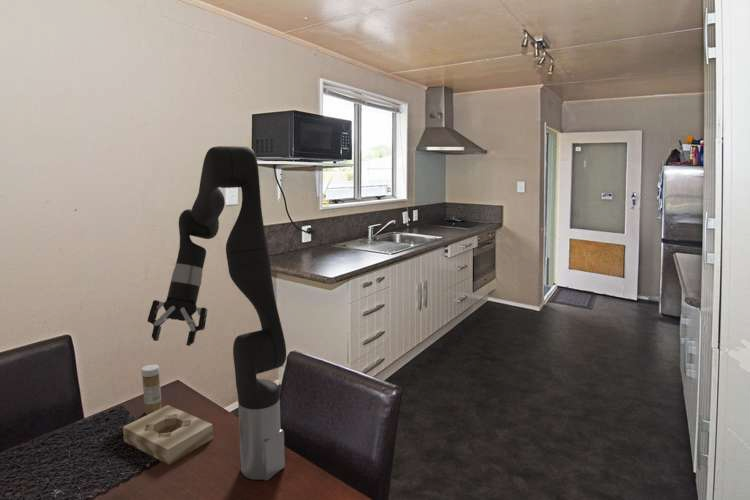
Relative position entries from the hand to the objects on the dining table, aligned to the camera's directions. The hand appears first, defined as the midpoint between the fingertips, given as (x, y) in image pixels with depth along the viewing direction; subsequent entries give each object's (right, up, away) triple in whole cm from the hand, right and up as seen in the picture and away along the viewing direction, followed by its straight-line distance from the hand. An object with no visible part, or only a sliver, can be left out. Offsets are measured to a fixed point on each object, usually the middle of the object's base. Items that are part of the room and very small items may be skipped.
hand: (172, 343), depth 126 cm
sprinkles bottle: (-10, -22, +10) cm, 26 cm away
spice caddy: (+1, -24, -4) cm, 24 cm away
